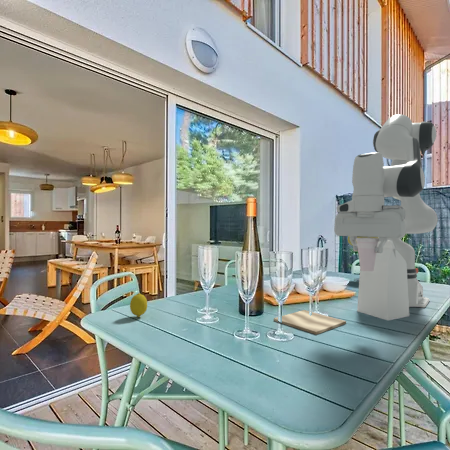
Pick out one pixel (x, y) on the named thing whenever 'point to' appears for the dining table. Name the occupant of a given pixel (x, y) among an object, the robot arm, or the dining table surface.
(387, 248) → the milk
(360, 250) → the smoothie
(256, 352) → the dining table surface
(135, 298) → the lemon
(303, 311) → the oak board
